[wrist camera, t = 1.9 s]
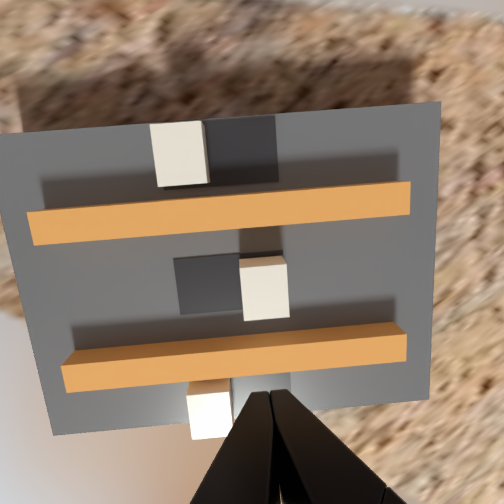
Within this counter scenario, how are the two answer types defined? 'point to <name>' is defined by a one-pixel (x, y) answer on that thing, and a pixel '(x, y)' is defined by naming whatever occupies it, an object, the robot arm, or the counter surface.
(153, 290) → the breaker panel
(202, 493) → the robot arm
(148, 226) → the orange bar
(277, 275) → the block
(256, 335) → the orange wooden bar
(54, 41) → the counter surface
